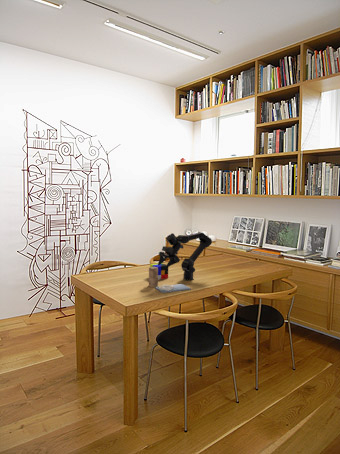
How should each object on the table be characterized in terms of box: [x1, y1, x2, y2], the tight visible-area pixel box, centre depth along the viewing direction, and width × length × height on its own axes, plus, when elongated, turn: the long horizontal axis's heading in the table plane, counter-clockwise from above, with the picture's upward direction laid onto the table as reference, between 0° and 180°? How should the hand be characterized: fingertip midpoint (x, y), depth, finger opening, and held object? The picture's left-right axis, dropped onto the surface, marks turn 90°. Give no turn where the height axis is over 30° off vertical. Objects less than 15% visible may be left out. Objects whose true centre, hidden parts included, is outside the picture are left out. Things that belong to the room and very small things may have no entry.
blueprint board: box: [154, 283, 192, 294], centre depth 227 cm, size 21×12×2 cm, turn 117°
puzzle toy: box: [149, 262, 169, 281], centre depth 257 cm, size 10×10×10 cm
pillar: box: [148, 266, 159, 288], centre depth 232 cm, size 4×4×13 cm
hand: (162, 266), depth 236 cm, fingers open, 9 cm apart
